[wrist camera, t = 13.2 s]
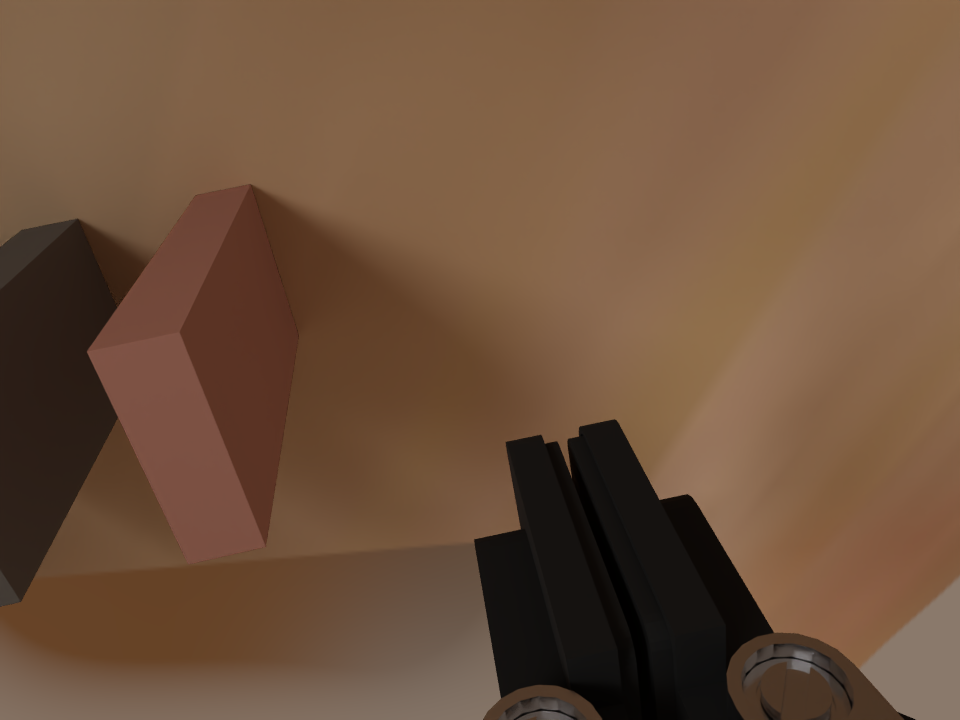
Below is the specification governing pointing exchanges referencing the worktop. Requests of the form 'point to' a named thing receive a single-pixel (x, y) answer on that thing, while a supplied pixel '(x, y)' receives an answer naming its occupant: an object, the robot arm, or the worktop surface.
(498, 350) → the worktop surface
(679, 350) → the worktop surface
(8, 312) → the domino
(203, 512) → the domino
